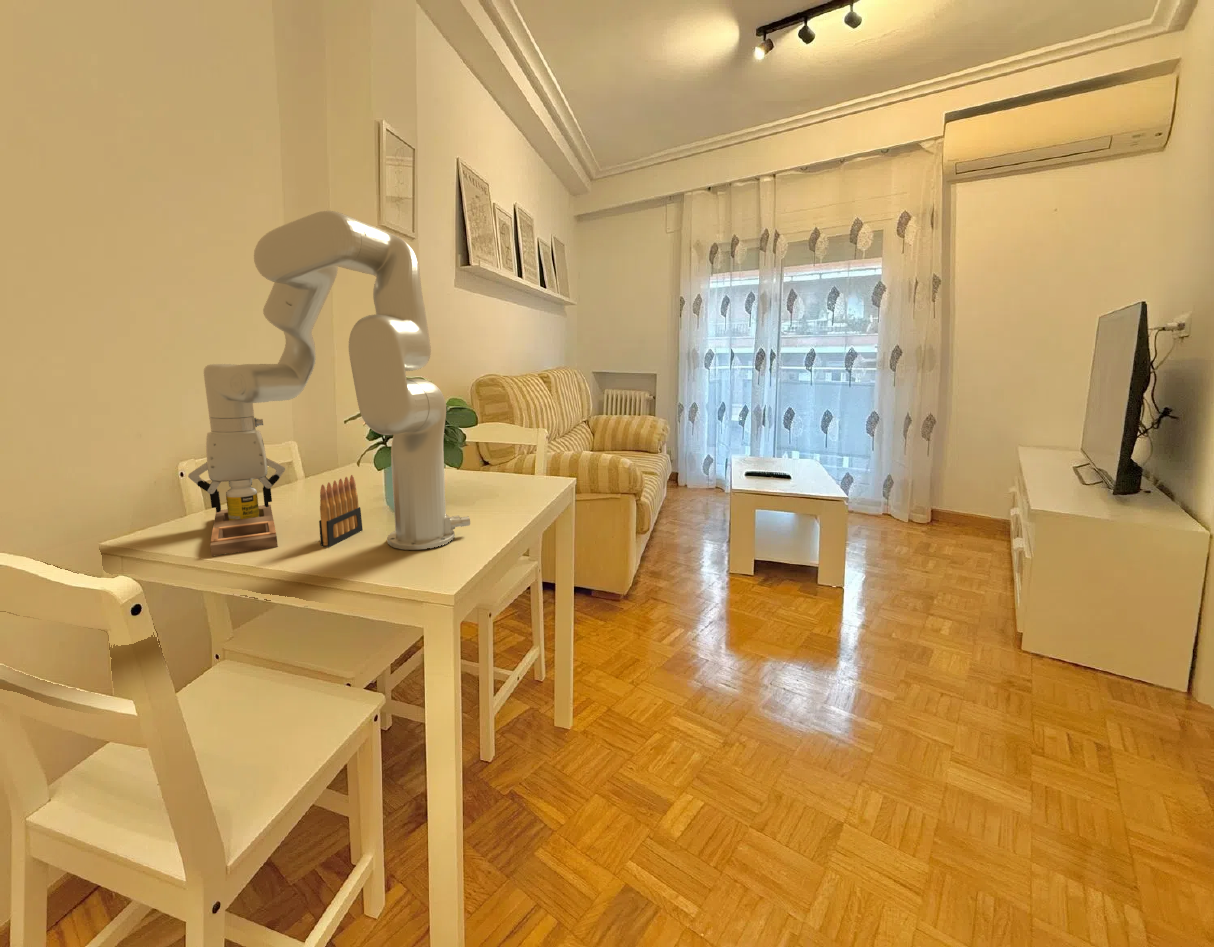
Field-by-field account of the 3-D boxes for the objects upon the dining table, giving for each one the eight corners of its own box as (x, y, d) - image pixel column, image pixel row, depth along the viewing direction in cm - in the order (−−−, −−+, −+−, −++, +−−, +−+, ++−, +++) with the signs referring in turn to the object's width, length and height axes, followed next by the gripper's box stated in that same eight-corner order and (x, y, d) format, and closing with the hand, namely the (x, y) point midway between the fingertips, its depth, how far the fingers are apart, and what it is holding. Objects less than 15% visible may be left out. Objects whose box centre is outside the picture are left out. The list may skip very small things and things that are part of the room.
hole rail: (271, 513, 120) (270, 503, 119) (277, 546, 99) (276, 535, 98) (217, 519, 114) (215, 509, 114) (211, 556, 93) (210, 544, 93)
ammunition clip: (329, 547, 99) (323, 485, 97) (320, 546, 99) (314, 485, 97) (362, 530, 110) (358, 474, 107) (354, 529, 110) (350, 473, 107)
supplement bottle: (244, 528, 109) (239, 482, 107) (223, 526, 110) (217, 480, 108) (266, 521, 114) (261, 477, 112) (245, 519, 115) (240, 475, 113)
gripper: (281, 421, 115) (289, 499, 119) (180, 425, 106) (192, 509, 109) (284, 425, 109) (292, 507, 113) (177, 429, 100) (189, 518, 103)
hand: (243, 507), depth 111 cm, fingers open, 7 cm apart
